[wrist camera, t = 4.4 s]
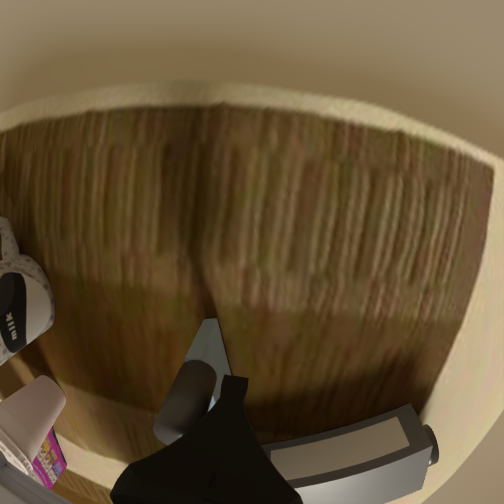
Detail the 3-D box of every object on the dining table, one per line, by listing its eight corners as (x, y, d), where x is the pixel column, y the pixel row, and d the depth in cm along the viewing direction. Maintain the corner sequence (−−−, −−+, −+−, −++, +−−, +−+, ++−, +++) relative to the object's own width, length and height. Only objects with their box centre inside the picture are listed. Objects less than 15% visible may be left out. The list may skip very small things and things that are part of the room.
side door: (258, 448, 19) (252, 533, 11) (236, 448, 19) (223, 532, 11) (225, 316, 16) (190, 418, 8) (196, 319, 16) (144, 416, 8)
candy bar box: (22, 402, 22) (-48, 479, 6) (52, 422, 22) (-16, 511, 6) (41, 449, 24) (-8, 516, 8) (68, 466, 24) (22, 540, 8)
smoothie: (20, 364, 20) (-60, 437, 6) (52, 360, 19) (-43, 455, 5) (52, 413, 21) (-12, 493, 7) (88, 416, 20) (19, 517, 7)
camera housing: (268, 488, 21) (267, 526, 16) (241, 446, 19) (235, 494, 14) (418, 447, 19) (433, 483, 14) (423, 396, 17) (447, 437, 12)
